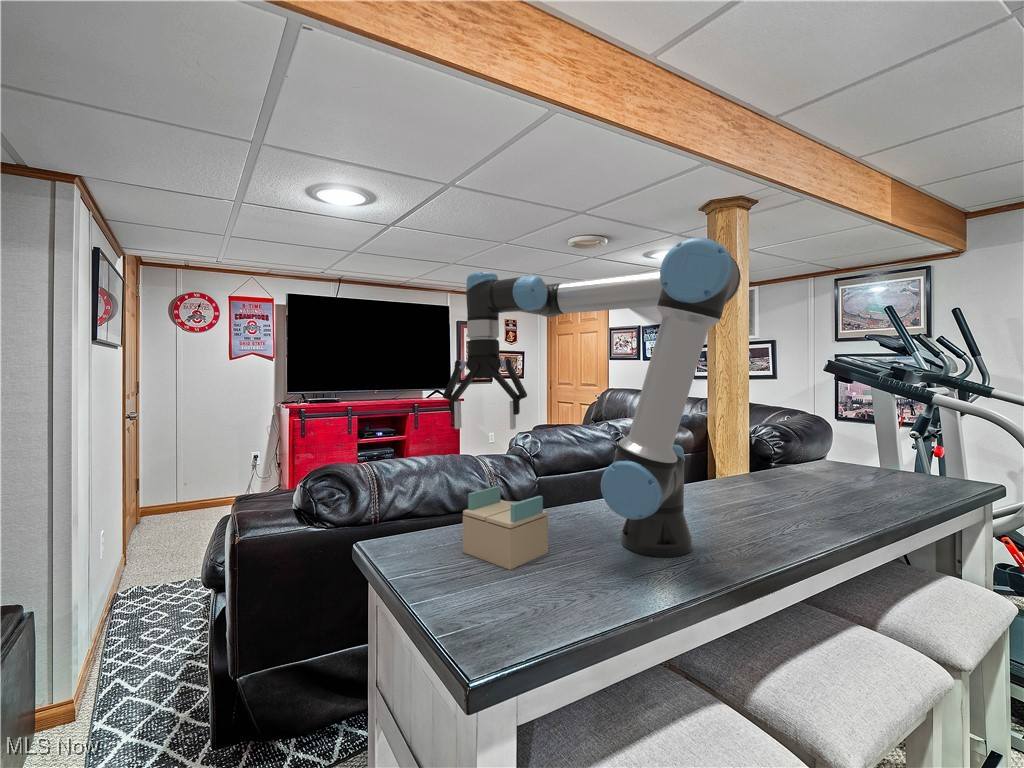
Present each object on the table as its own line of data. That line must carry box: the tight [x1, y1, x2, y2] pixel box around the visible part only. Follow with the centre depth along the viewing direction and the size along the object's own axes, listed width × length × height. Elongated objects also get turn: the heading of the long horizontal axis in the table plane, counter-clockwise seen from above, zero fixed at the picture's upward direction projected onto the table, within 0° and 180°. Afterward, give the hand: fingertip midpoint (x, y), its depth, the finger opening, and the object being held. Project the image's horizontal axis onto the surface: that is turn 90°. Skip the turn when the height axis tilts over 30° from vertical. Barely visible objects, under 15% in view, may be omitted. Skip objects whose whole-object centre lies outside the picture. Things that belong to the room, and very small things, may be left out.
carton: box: [462, 514, 549, 571], centre depth 109 cm, size 14×12×8 cm
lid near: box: [486, 495, 549, 528], centre depth 106 cm, size 7×12×4 cm, turn 137°
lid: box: [462, 485, 513, 521], centre depth 111 cm, size 7×12×4 cm, turn 137°
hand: (485, 428), depth 120 cm, fingers open, 13 cm apart
